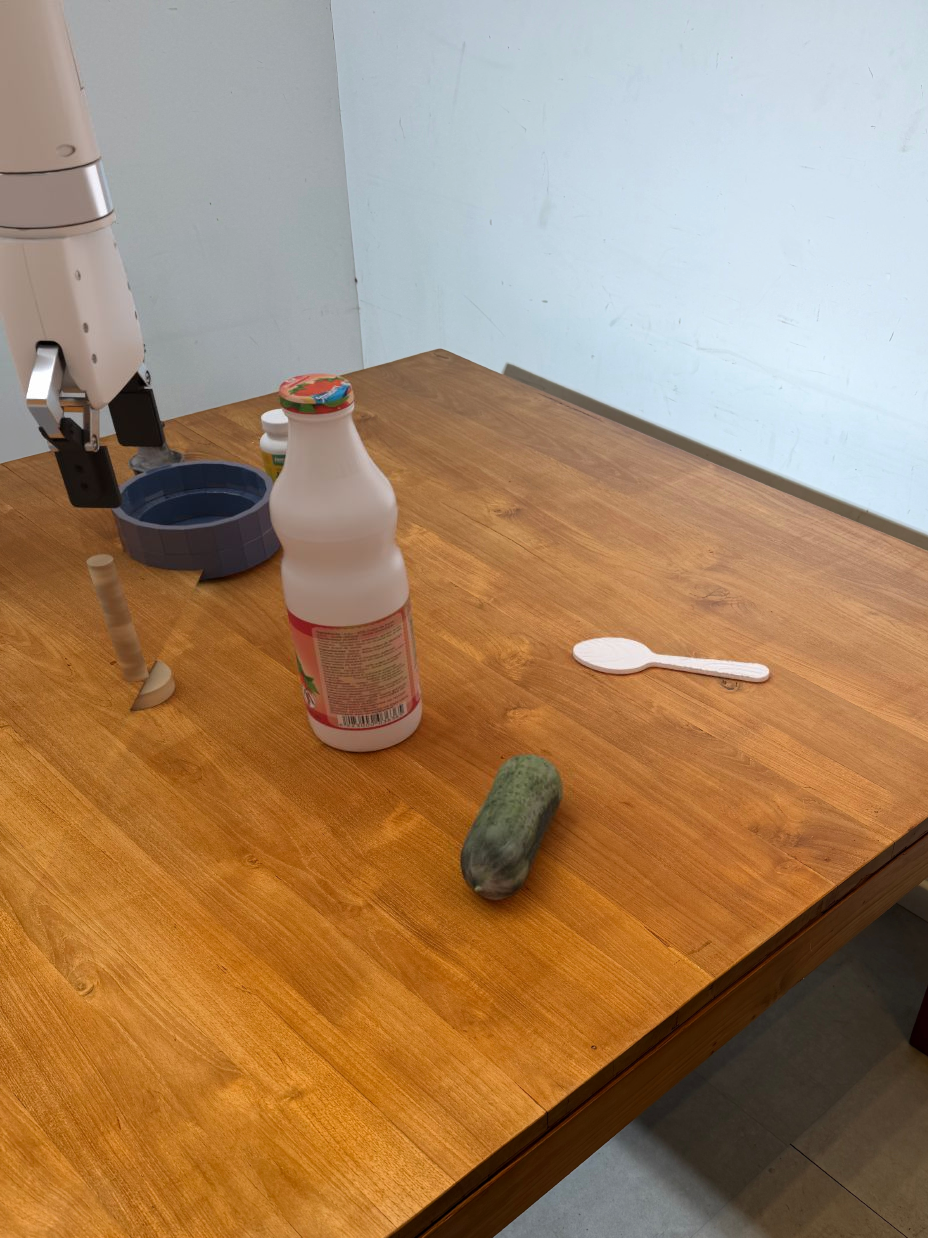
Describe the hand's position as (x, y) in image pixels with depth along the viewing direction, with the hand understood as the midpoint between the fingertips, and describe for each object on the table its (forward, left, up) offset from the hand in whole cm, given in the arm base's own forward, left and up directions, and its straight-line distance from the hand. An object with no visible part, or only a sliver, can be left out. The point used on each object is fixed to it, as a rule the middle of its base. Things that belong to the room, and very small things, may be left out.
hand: (121, 474), depth 77 cm
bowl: (-7, +32, -22) cm, 40 cm away
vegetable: (+27, -14, -23) cm, 38 cm away
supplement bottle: (0, +43, -23) cm, 49 cm away
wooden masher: (-6, +6, -22) cm, 24 cm away
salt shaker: (-15, +45, -23) cm, 53 cm away
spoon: (+40, +11, -22) cm, 47 cm away
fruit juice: (+14, +2, -23) cm, 27 cm away
